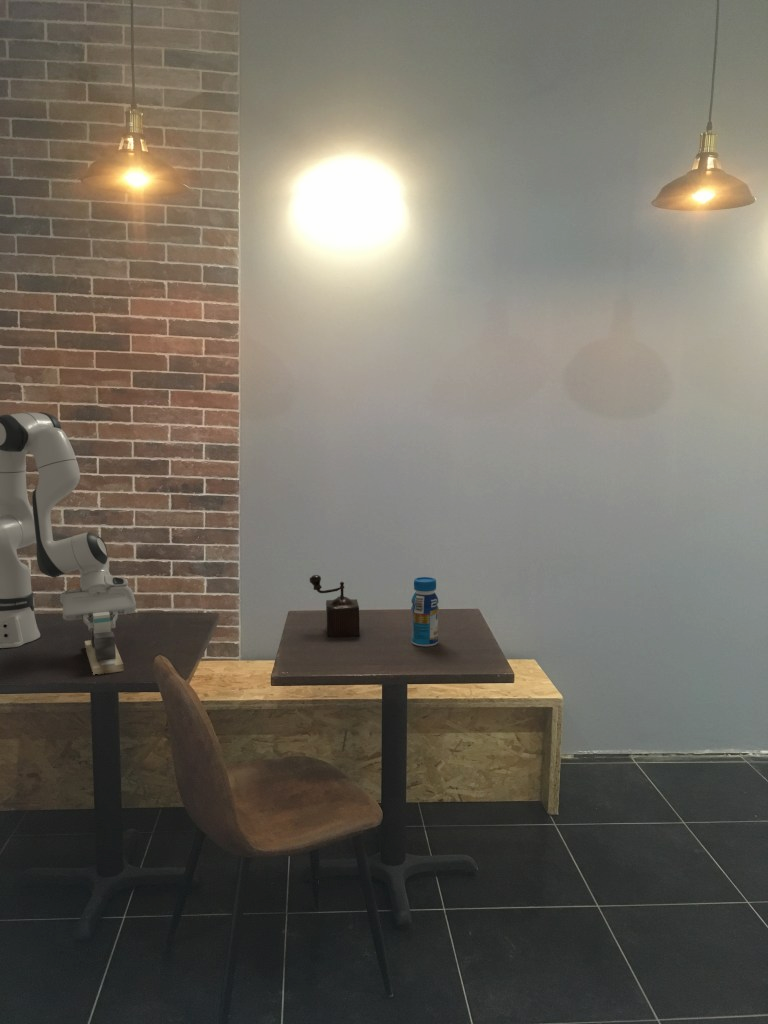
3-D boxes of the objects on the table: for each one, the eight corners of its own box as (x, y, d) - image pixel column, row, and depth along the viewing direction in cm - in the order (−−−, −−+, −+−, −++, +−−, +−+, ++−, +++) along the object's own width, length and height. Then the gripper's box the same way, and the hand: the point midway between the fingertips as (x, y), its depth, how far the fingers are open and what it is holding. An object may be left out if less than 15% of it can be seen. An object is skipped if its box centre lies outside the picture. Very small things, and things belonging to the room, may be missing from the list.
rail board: (93, 675, 225) (91, 643, 224) (85, 647, 248) (83, 618, 247) (123, 670, 228) (121, 639, 227) (112, 643, 252) (111, 615, 250)
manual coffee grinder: (357, 626, 270) (357, 572, 267) (360, 636, 259) (359, 580, 256) (310, 627, 268) (309, 573, 265) (310, 638, 257) (309, 582, 254)
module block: (95, 646, 235) (93, 616, 234) (94, 642, 239) (92, 612, 237) (111, 644, 237) (109, 614, 235) (110, 640, 240) (108, 611, 239)
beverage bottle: (406, 640, 255) (407, 577, 251) (432, 637, 257) (432, 575, 254) (416, 648, 247) (417, 583, 244) (442, 645, 249) (443, 581, 246)
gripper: (59, 585, 237) (63, 627, 230) (132, 578, 245) (139, 618, 238) (59, 597, 242) (63, 638, 235) (131, 589, 250) (137, 629, 243)
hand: (102, 628), depth 236 cm, fingers closed on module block, 4 cm apart
